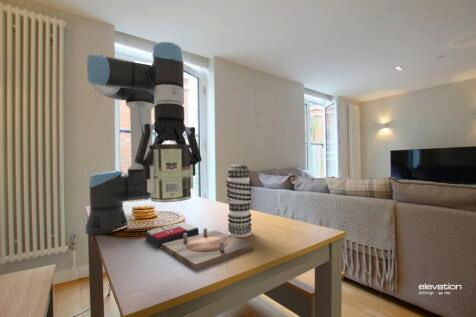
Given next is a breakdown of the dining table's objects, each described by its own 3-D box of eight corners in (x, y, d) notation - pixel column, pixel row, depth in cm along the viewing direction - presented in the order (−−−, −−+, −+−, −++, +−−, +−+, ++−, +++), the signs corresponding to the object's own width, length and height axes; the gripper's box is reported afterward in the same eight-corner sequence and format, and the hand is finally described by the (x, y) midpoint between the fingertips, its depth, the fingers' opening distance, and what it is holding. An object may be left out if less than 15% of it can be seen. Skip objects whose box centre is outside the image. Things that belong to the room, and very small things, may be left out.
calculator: (144, 230, 83) (184, 220, 93) (145, 242, 84) (185, 231, 93) (156, 238, 75) (198, 226, 84) (157, 251, 75) (199, 238, 84)
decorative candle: (222, 233, 89) (220, 165, 89) (241, 228, 94) (240, 164, 94) (237, 239, 82) (236, 165, 82) (257, 233, 87) (256, 164, 87)
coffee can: (178, 194, 71) (177, 146, 70) (198, 198, 63) (197, 144, 63) (143, 199, 63) (142, 145, 63) (162, 204, 56) (160, 143, 56)
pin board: (161, 248, 75) (161, 235, 75) (214, 234, 88) (214, 223, 88) (195, 270, 60) (195, 254, 60) (253, 248, 73) (253, 235, 73)
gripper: (127, 96, 53) (130, 197, 53) (213, 107, 68) (215, 187, 68) (118, 102, 59) (120, 193, 59) (199, 111, 73) (201, 185, 73)
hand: (171, 190), depth 63 cm, fingers closed on coffee can, 10 cm apart
